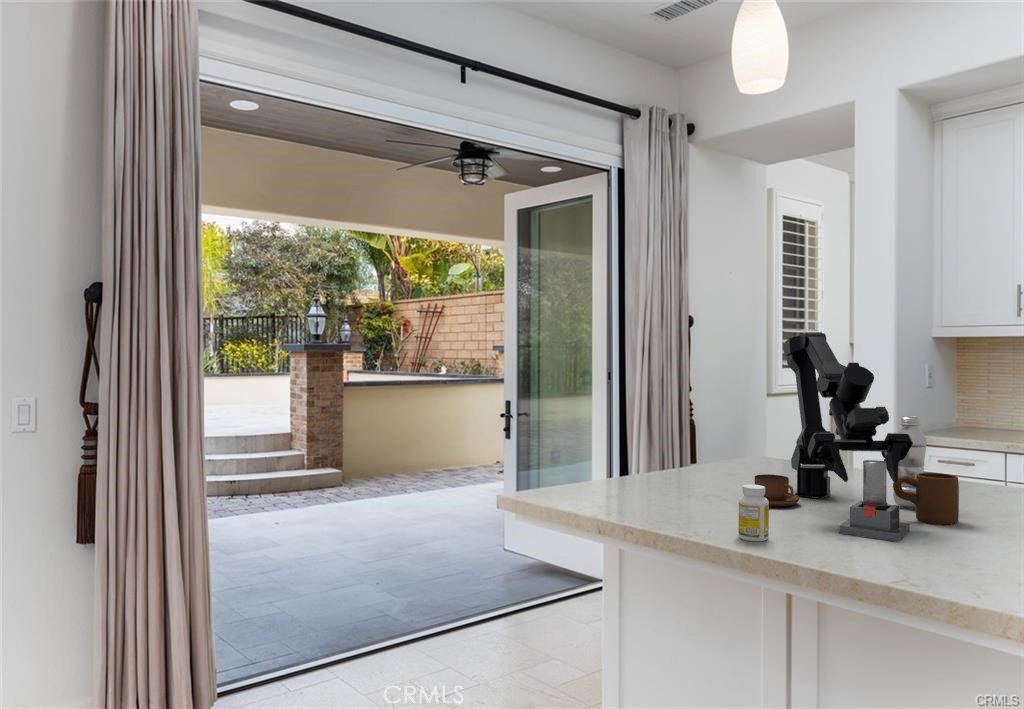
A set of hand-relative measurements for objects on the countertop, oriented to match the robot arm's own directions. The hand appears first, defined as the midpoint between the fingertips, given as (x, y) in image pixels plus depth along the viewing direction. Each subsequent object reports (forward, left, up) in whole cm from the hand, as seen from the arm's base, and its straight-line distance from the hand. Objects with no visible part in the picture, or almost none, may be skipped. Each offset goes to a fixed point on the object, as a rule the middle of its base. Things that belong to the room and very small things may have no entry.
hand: (871, 480), depth 144 cm
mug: (+6, +15, -10) cm, 19 cm away
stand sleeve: (+1, -1, -10) cm, 10 cm away
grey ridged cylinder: (+1, -1, -8) cm, 8 cm away
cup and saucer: (-24, +13, -10) cm, 29 cm away
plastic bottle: (+1, +28, -10) cm, 29 cm away
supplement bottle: (-15, -20, -10) cm, 27 cm away
